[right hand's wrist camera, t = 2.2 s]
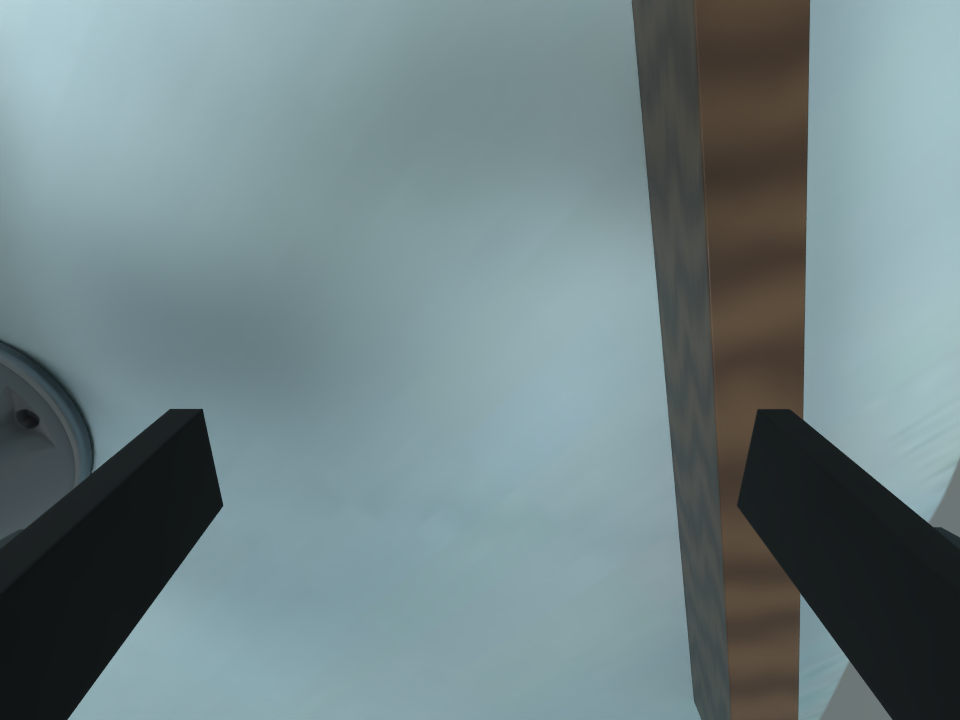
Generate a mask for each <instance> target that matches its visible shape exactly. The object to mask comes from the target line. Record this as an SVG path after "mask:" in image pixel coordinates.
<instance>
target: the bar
mask: <svg viewBox="0 0 960 720" xmlns="http://www.w3.org/2000/svg"><path fill="white" fill-rule="evenodd" d="M632 6H633V18H634V29H635V40H636V51H637V63H638V74H639V85H640V96H641V108H642V119H643V130H644V141H645V153H646V164H647V175H648V187H649V198H650V209H651V220H652V232H653V243H654V254H655V265H656V277H657V288H658V299H659V310H660V322H661V333H662V344H663V356H664V367H665V378H666V389H667V401H668V412H669V423H670V434H671V446H672V457H673V468H674V479H675V491H676V502H677V513H678V524H679V536H680V547H681V558H682V570H683V581H684V592H685V603H686V615H687V626H688V637H689V648H690V660H691V671H692V682H693V693H694V702H695V705H696V707H697V710H698V712H699V715H700V717H701V720H798V697H799V636H800V592H799V591H798V589H797V588H796V586H795V585H794V584H793V582H792V581H791V580H790V578H789V577H788V575H787V574H786V573H785V571H784V570H783V569H782V567H781V566H780V564H779V563H778V562H777V560H776V559H775V558H774V556H773V555H772V554H771V552H770V551H769V549H768V548H767V547H766V545H765V544H764V543H763V541H762V540H761V538H760V537H759V536H758V534H757V533H756V532H755V530H754V529H753V527H752V526H751V525H750V523H749V522H748V521H747V519H746V518H745V516H744V515H743V514H742V512H741V511H740V510H739V508H738V507H737V502H738V498H739V493H740V488H741V484H742V479H743V474H744V470H745V465H746V460H747V456H748V451H749V446H750V441H751V437H752V432H753V427H754V423H755V418H756V413H757V409H790V410H792V411H793V412H794V413H795V414H796V415H798V416H799V417H800V418H801V419H802V420H803V393H804V332H805V272H806V211H807V150H808V90H809V29H810V0H632Z"/></svg>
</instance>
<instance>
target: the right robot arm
mask: <svg viewBox="0 0 960 720" xmlns="http://www.w3.org/2000/svg"><path fill="white" fill-rule="evenodd" d="M91 465H92V450H91V443H90V438H89V434H88V431H87V428H86V425H85V423H84V421H83V419H82V416H81V414H80V413H79V411H78V409H77V407H76V406H75V404H74V403H73V401H72V400H71V398H70V397H69V396H68V394H67V393H66V392H65V391H64V389H63V388H62V387H61V386H60V385H59V384H58V383H57V382H56V381H55V380H54V379H53V378H52V377H51V376H50V375H49V374H48V373H47V372H46V371H45V370H44V369H42V368H41V367H40V366H39V365H37V364H36V363H35V362H33V361H32V360H30V359H29V358H27V357H26V356H25V355H23V354H21V353H20V352H18V351H16V350H14V349H13V348H11V347H9V346H7V345H5V344H3V343H1V342H0V720H68V718H69V717H70V715H71V714H72V713H73V711H74V710H75V709H76V707H77V706H78V704H79V703H80V702H81V700H82V699H83V698H84V696H85V695H86V693H87V692H88V691H89V689H90V688H91V687H92V685H93V684H94V682H95V681H96V680H97V678H98V677H99V676H100V674H101V673H102V671H103V670H104V669H105V667H106V666H107V665H108V663H109V662H110V661H111V659H112V658H113V656H114V655H115V654H116V652H117V651H118V650H119V648H120V647H121V645H122V644H123V643H124V641H125V640H126V639H127V637H128V636H129V634H130V633H131V632H132V630H133V629H134V628H135V626H136V625H137V623H138V622H139V621H140V619H141V618H142V617H143V615H144V614H145V613H146V611H147V610H148V608H149V607H150V606H151V604H152V603H153V602H154V600H155V599H156V597H157V596H158V595H159V593H160V592H161V591H162V589H163V588H164V586H165V585H166V584H167V582H168V581H169V580H170V578H171V577H172V575H173V574H174V573H175V571H176V570H177V569H178V567H179V566H180V564H181V563H182V562H183V560H184V559H185V558H186V556H187V555H188V554H189V552H190V551H191V549H192V548H193V547H194V545H195V544H196V543H197V541H198V540H199V538H200V537H201V536H202V534H203V533H204V532H205V530H206V529H207V527H208V526H209V525H210V523H211V522H212V521H213V519H214V518H215V516H216V515H217V514H218V512H219V511H220V510H221V508H222V507H223V502H222V498H221V493H220V488H219V484H218V479H217V474H216V470H215V465H214V460H213V456H212V451H211V446H210V441H209V437H208V432H207V427H206V423H205V418H204V413H203V409H170V410H168V411H167V412H166V413H165V414H164V415H162V416H161V417H160V418H159V419H158V420H156V421H155V422H154V423H153V424H151V425H150V426H149V427H148V428H147V429H145V430H144V431H143V432H142V433H141V434H139V435H138V436H137V437H136V438H134V439H133V440H132V441H131V442H130V443H128V444H127V445H126V446H125V447H124V448H122V449H121V450H120V451H119V452H117V453H116V454H115V455H114V456H113V457H111V458H110V459H109V460H108V461H107V462H105V463H104V464H103V465H102V466H101V467H99V468H98V469H97V470H96V471H94V472H93V473H92V474H91V475H90V472H91ZM89 475H90V476H89ZM737 507H738V508H739V510H740V511H741V512H742V514H743V515H744V516H745V518H746V519H747V521H748V522H749V523H750V525H751V526H752V527H753V529H754V530H755V532H756V533H757V534H758V536H759V537H760V538H761V540H762V541H763V543H764V544H765V545H766V547H767V548H768V549H769V551H770V552H771V554H772V555H773V556H774V558H775V559H776V560H777V562H778V563H779V564H780V566H781V567H782V569H783V570H784V571H785V573H786V574H787V575H788V577H789V578H790V580H791V581H792V582H793V584H794V585H795V586H796V588H797V589H798V591H799V592H800V593H801V595H802V596H803V597H804V599H805V600H806V602H807V603H808V604H809V606H810V607H811V608H812V610H813V611H814V613H815V614H816V615H817V617H818V618H819V619H820V621H821V622H822V623H823V625H824V626H825V628H826V629H827V630H828V632H829V633H830V634H831V636H832V637H833V639H834V640H835V641H836V643H837V644H838V645H839V647H840V648H841V650H842V651H843V652H844V654H845V655H846V656H847V658H848V659H849V661H850V662H851V663H852V665H853V666H854V667H855V669H856V670H857V671H858V673H859V674H860V676H861V677H862V678H863V680H864V681H865V682H866V684H867V685H868V687H869V688H870V689H871V691H872V692H873V693H874V695H875V696H876V697H877V699H878V700H879V702H880V703H881V704H882V706H883V707H884V709H885V710H886V711H887V713H888V714H889V715H890V717H891V718H892V719H893V720H960V537H958V536H956V535H954V534H952V533H950V532H949V531H947V530H945V529H943V528H941V527H932V526H931V525H930V524H929V523H927V522H926V521H925V520H924V519H923V518H921V517H920V516H919V515H918V514H917V513H915V512H914V511H913V510H912V509H910V508H909V507H908V506H907V505H906V504H904V503H903V502H902V501H901V500H900V499H898V498H897V497H896V496H895V495H893V494H892V493H891V492H890V491H889V490H887V489H886V488H885V487H884V486H883V485H881V484H880V483H879V482H878V481H876V480H875V479H874V478H873V477H872V476H870V475H869V474H868V473H867V472H866V471H864V470H863V469H862V468H861V467H860V466H858V465H857V464H856V463H855V462H853V461H852V460H851V459H850V458H849V457H847V456H846V455H845V454H844V453H843V452H841V451H840V450H839V449H838V448H836V447H835V446H834V445H833V444H832V443H830V442H829V441H828V440H827V439H826V438H824V437H823V436H822V435H821V434H819V433H818V432H817V431H816V430H815V429H813V428H812V427H811V426H810V425H809V424H807V423H806V422H805V421H804V420H802V419H801V418H800V417H799V416H798V415H796V414H795V413H794V412H793V411H792V410H790V409H757V413H756V418H755V423H754V427H753V432H752V437H751V441H750V446H749V451H748V456H747V460H746V465H745V470H744V474H743V479H742V484H741V488H740V493H739V498H738V502H737Z"/></svg>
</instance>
